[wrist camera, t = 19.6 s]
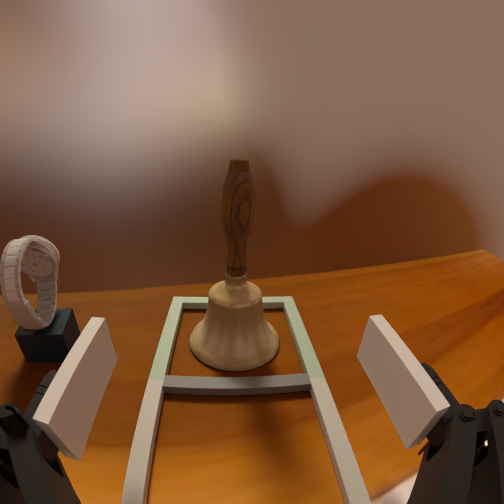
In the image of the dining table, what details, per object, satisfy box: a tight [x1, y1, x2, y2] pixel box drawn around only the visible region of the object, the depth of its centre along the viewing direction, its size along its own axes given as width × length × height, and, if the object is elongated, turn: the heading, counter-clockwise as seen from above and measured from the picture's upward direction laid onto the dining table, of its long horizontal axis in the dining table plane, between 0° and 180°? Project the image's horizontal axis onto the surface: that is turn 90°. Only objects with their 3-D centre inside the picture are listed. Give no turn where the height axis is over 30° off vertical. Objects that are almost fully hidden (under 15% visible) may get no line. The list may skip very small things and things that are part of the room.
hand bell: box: [190, 158, 280, 371], centre depth 22 cm, size 8×8×16 cm
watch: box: [0, 235, 80, 362], centre depth 18 cm, size 6×8×11 cm
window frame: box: [121, 296, 372, 504], centre depth 19 cm, size 13×26×1 cm, turn 5°
